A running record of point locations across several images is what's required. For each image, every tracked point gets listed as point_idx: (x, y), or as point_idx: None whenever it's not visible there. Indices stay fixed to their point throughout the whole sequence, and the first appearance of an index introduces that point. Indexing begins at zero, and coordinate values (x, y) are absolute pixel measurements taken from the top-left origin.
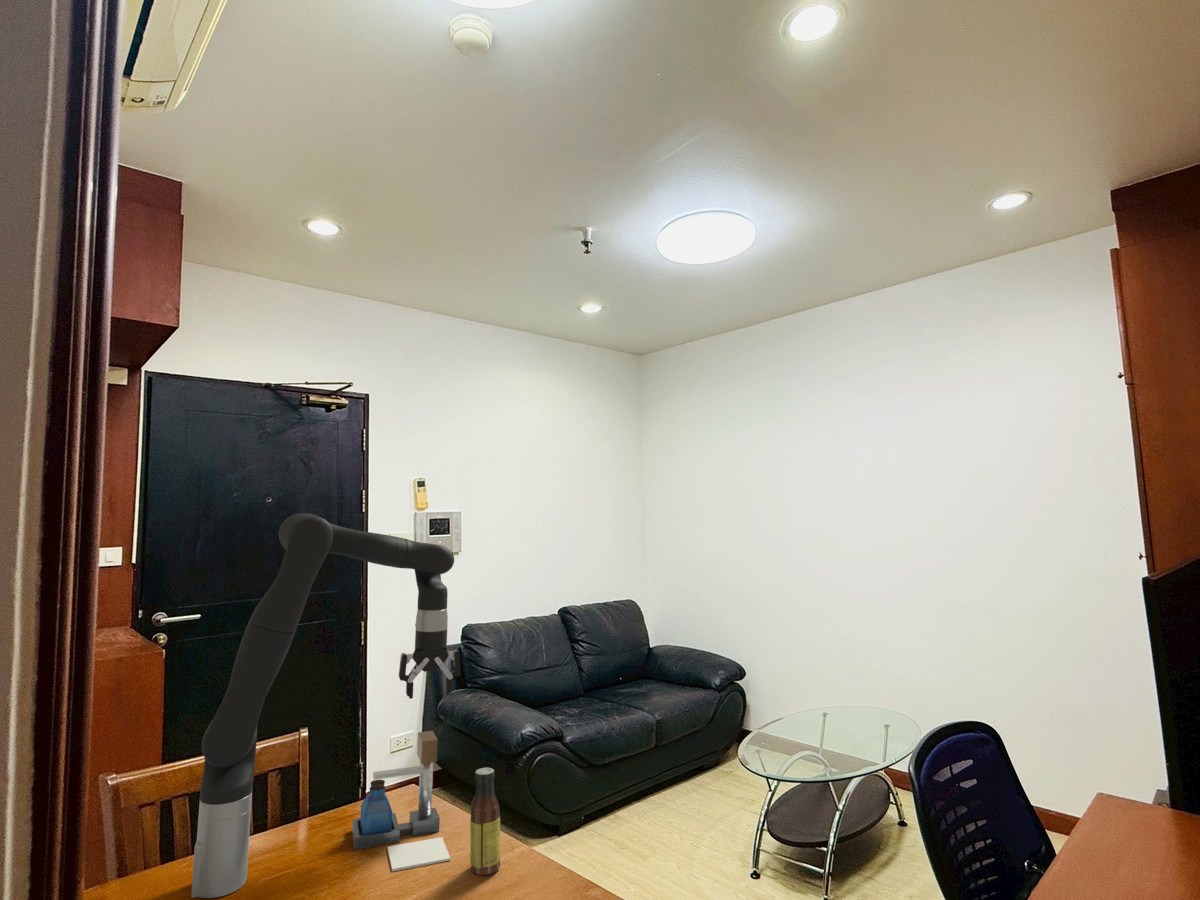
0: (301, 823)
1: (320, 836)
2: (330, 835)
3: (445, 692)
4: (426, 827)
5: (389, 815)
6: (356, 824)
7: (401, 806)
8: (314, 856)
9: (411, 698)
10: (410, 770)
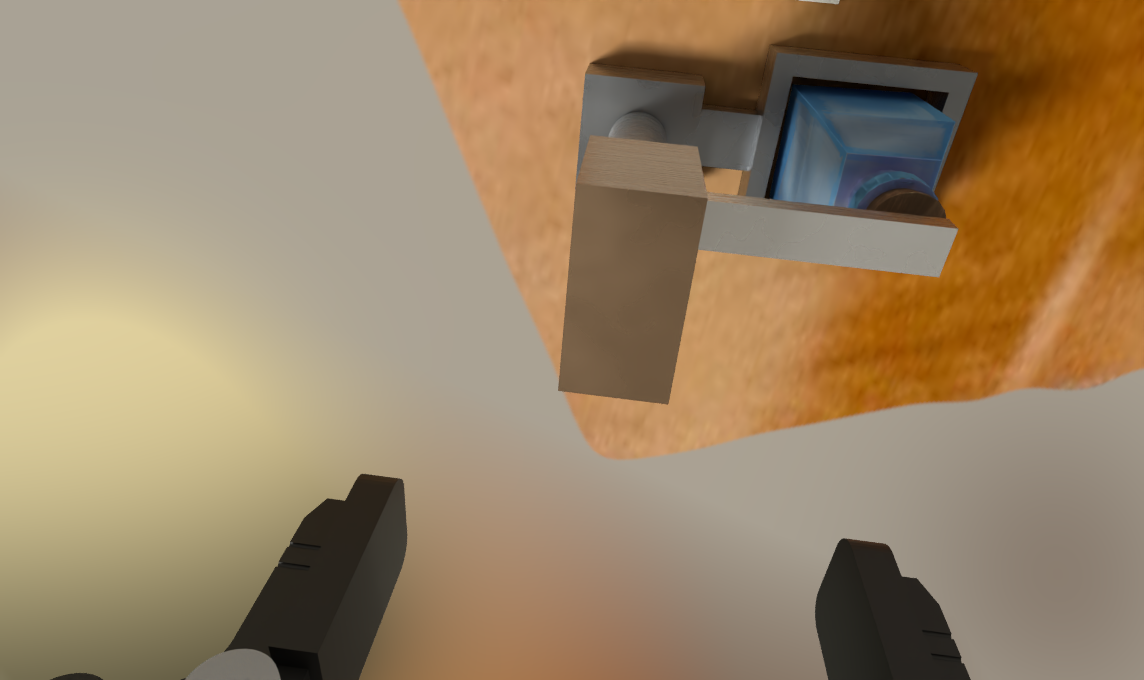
0: (1026, 376)
1: (1016, 247)
2: (981, 238)
3: (395, 533)
4: (644, 73)
5: (825, 108)
6: None
7: None
8: (1116, 86)
9: (857, 541)
10: (736, 204)
